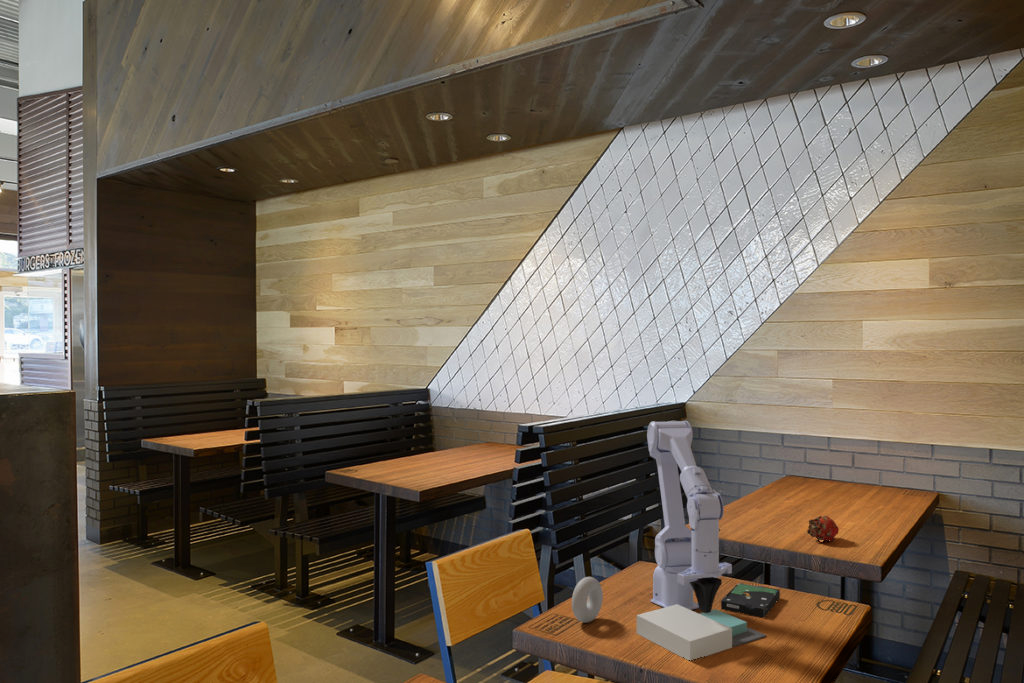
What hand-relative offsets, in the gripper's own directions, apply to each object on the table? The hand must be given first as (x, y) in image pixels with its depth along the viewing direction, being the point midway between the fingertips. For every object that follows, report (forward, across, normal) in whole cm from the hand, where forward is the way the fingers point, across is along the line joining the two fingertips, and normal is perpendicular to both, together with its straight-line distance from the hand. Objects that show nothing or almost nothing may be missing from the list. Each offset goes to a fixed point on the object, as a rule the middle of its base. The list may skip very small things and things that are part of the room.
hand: (705, 611), depth 160 cm
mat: (+5, +5, 0) cm, 7 cm away
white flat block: (+5, -6, 0) cm, 8 cm away
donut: (+5, -18, +19) cm, 26 cm away
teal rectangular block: (+3, +5, 0) cm, 6 cm away
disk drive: (+6, +22, +7) cm, 24 cm away
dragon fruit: (+5, +83, +31) cm, 89 cm away
